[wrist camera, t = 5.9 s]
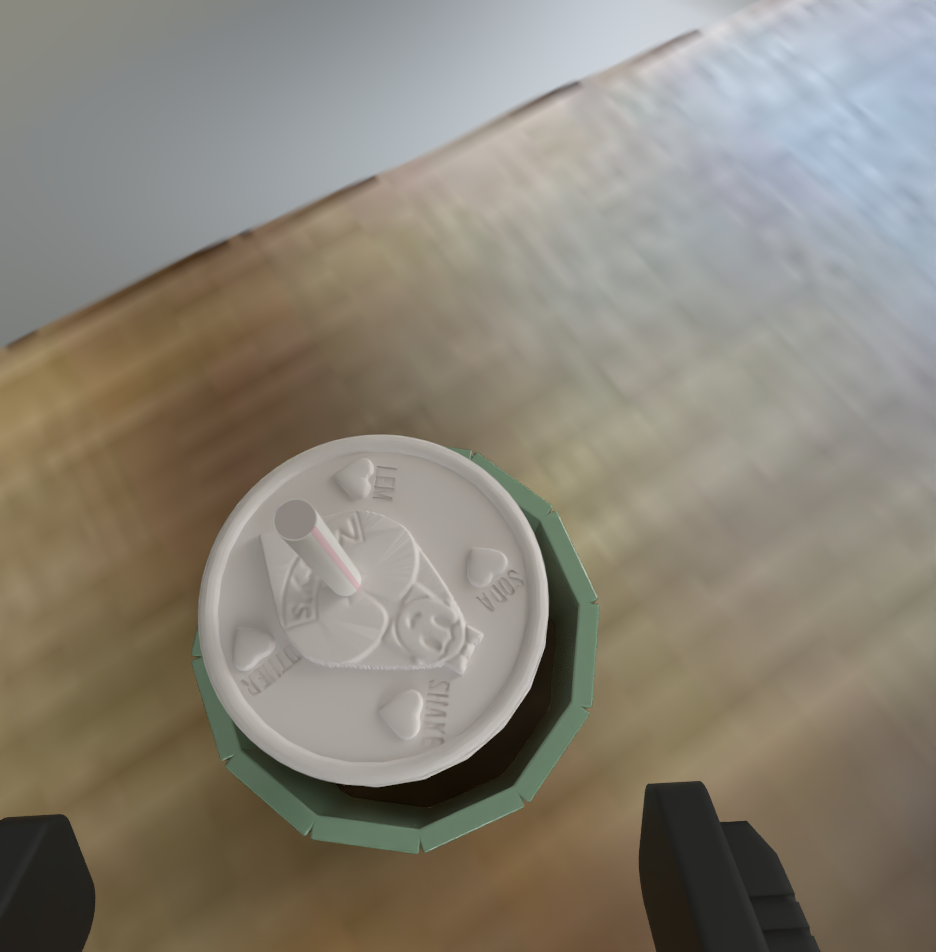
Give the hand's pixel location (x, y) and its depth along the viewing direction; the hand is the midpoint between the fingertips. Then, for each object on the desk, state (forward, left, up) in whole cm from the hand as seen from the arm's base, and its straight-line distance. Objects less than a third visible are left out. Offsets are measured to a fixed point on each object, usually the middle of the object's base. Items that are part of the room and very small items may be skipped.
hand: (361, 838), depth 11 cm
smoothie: (-1, -3, -12) cm, 12 cm away
